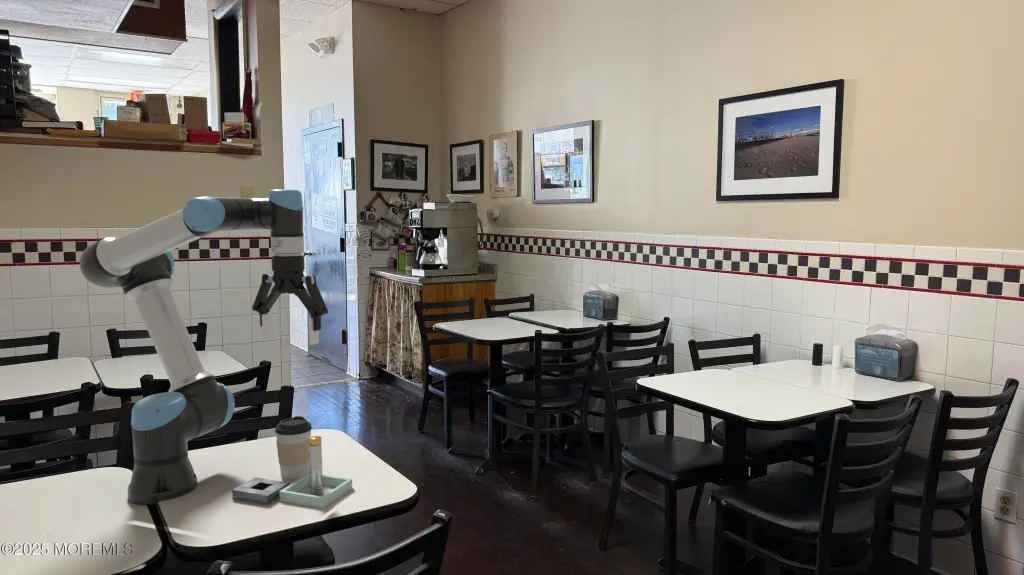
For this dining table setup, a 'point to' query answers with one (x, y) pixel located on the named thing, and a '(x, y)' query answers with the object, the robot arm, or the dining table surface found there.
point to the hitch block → (259, 491)
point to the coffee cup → (293, 446)
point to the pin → (315, 465)
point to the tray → (292, 496)
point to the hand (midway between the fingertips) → (290, 342)
